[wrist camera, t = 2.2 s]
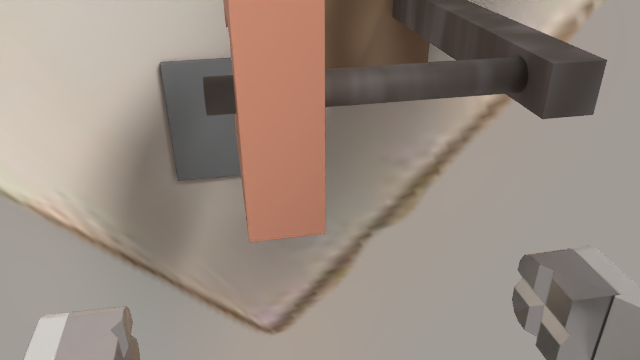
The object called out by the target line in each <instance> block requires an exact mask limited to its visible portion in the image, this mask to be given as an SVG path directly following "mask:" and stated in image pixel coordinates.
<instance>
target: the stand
mask: <svg viewBox="0 0 640 360" xmlns="http://www.w3.org/2000/svg"><path fill="white" fill-rule="evenodd" d="M429 42H430V43H432V44H433V45H435V46H436V47H437V48H439V49H440V50H442V51H443V52H445V53H446V54H448V55H449V56H451V57H452V58H454V59H455V60H457V61H443V62H428V51H429ZM606 62H607V60H606V59H603V58H601V57H598V56H596V55H594V54H591V53H589V52H587V51H584V50H582V49H580V48H577V47H575V46H573V45H570V44H568V43H566V42H563V41H561V40H558V39H556V38H554V37H551V36H549V35H547V34H544V33H542V32H540V31H537V30H535V29H533V28H530V27H528V26H526V25H523V24H521V23H519V22H516V21H514V20H511V19H509V18H507V17H504V16H502V15H500V14H497V13H495V12H493V11H490V10H488V9H486V8H483V7H481V6H479V5H476V4H474V3H471V2H469V1H467V0H325V107H332V106H345V105H359V104H372V103H385V102H399V101H412V100H426V99H439V98H452V97H466V96H479V95H492V94H506V95H508V96H509V97H511V98H512V99H514V100H515V101H517V102H518V103H520V104H521V105H523V106H524V107H525V108H527V109H529V110H530V111H531V112H533V113H534V114H536V115H537V116H539V117H540V118H542V119H547V118H559V117H572V116H584V115H593V113H594V109H595V105H596V101H597V97H598V93H599V89H600V85H601V81H602V78H603V74H604V69H605V66H606ZM203 88H204V99H205V107H206V114H207V116H212V115H225V114H236V104H235V92H234V81H233V75H222V76H206V77H203Z"/></svg>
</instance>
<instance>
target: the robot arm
mask: <svg viewBox="0 0 640 360" xmlns="http://www.w3.org/2000/svg"><path fill="white" fill-rule="evenodd" d="M518 271H519V273H520V275H521V276H522V279H521V280H520V281H519V282H518V283H517V284H516V286H515V287H514V292H513V298H512V301H513V307H514V312H515V315H516V317H517V319H518V321H519V323H520V324H521V326H522V327H523V329H524V330H526V331H527V332H530V333H531V334H533V335H535V336H537V339H536V346H537V348H538V349H539V350H540V352H541V353H542V354H543V356H544V357H545V358H546V360H640V287H639V286H637V285H636V284H635V283H634V282H633V281H632V280H631V279H630V278H629V277H627V276H626V275H625V274H624V273H623V272H622V271H621V270H620V269H619V268H617V267H616V266H615V265H614V264H613V263H612V262H611V261H610V260H609V259H608V258H606V257H605V256H604V255H603V254H602V253H601V252H600V251H598V249H596V248H594V247H592V246H589V245H588V246H581V247H575V248H568V249H566V250H557V251H550V252H543V253H536V254H528V255H524V256H523V257H522V259H521V260H520V263H519V268H518ZM132 322H133V321H132V318H131V314H130V310H129V308H128V307H127V306H122V307H113V308H103V309H95V310H85V311H76V312H72V313H62V314H53V315H44V316H43V317H42V318H41V319H40V320H39V321H38V323H37V325H36V328H35V330H34V333H33V335H32V338H31V340H30V343H29V345H28V348H27V350H26V353H25V355H24V358H23V360H140V355H139V348H138V343H137V339H135V338H134V337H133V336H131V329H132Z"/></svg>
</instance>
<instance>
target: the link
mask: <svg viewBox="0 0 640 360" xmlns="http://www.w3.org/2000/svg"><path fill="white" fill-rule="evenodd" d="M224 11H225V21H226V27H228V31H229V37H230V47H231V58H232V70H233V74H230V75H233V81H234V92H235V104H236V114H234V120H235V130H236V138H237V146H238V154H239V162H240V170H241V178H242V187H243V195H244V203H245V211H246V219H247V227H248V235H249V242H255V241H264V240H273V239H282V238H291V237H299V236H308V235H317V234H325V0H224Z"/></svg>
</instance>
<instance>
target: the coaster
mask: <svg viewBox="0 0 640 360" xmlns="http://www.w3.org/2000/svg"><path fill="white" fill-rule="evenodd" d="M160 67H161V73H162V80H163V86H164V93H165V99H166V106H167V112H168V119H169V125H170V131H171V138H172V144H173V151H174V157H175V164H176V170H177V177H178V181H182V180H193V179H203V178H214V177H225V176H236V175H241V170H240V162H239V154H238V146H237V138H236V130H235V120H234V114H225V115H212V116H207V114H206V107H205V99H204V88H203V77H206V76H222V75H230V74H233V70H232V58H221V59H204V60H186V61H169V62H161V63H160Z"/></svg>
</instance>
